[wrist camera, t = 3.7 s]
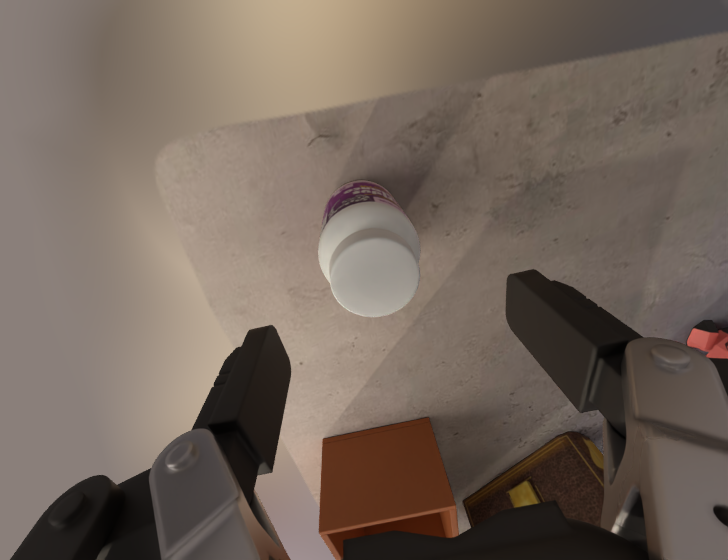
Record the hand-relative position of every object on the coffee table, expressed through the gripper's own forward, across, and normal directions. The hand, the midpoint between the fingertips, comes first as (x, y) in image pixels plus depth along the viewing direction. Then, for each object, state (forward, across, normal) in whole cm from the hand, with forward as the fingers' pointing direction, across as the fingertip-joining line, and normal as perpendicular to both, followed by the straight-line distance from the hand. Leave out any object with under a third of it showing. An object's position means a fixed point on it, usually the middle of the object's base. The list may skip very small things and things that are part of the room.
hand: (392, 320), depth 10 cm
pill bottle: (+13, 0, 0) cm, 13 cm away
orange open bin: (+13, +4, +35) cm, 37 cm away
